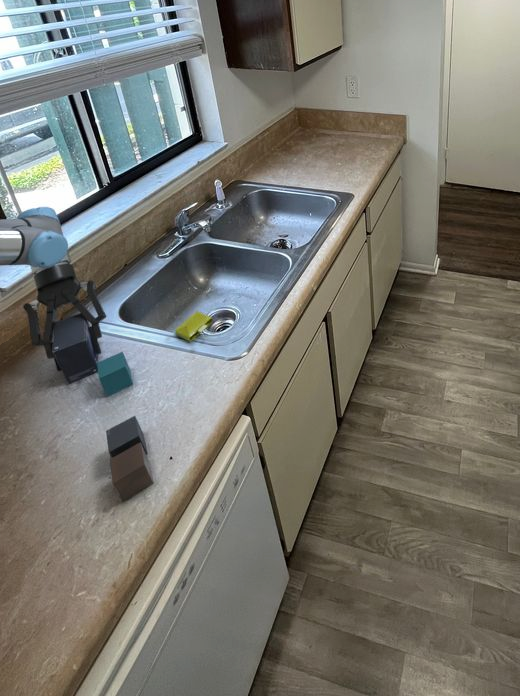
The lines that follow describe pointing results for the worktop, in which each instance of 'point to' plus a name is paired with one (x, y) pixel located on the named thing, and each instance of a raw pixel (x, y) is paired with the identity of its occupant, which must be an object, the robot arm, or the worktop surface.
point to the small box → (74, 348)
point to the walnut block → (131, 472)
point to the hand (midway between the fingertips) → (80, 361)
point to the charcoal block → (125, 437)
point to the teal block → (114, 374)
